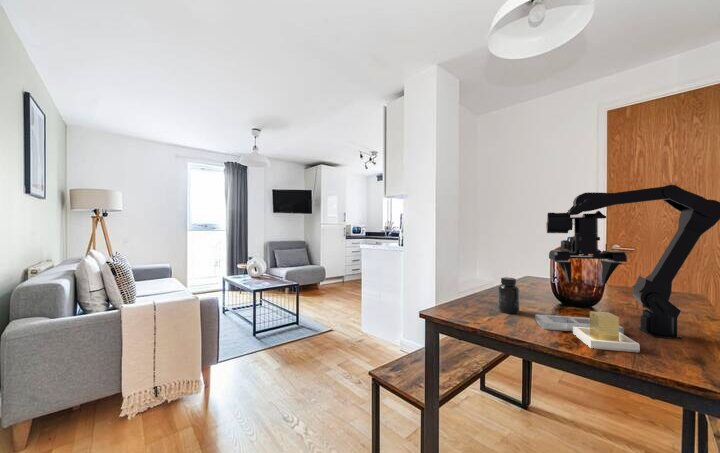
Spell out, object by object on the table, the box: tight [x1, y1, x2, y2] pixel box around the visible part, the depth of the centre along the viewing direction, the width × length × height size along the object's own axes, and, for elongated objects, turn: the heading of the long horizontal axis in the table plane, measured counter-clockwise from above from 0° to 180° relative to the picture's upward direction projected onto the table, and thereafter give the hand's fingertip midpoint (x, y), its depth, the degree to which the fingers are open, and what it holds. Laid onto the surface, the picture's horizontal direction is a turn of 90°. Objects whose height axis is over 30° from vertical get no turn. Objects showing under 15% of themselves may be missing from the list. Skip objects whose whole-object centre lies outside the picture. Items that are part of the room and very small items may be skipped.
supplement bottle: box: [497, 276, 520, 314], centre depth 105 cm, size 7×7×12 cm
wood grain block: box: [589, 310, 620, 342], centre depth 77 cm, size 4×4×7 cm
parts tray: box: [572, 327, 641, 354], centre depth 77 cm, size 10×10×2 cm
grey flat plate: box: [534, 314, 625, 335], centre depth 88 cm, size 20×8×2 cm, turn 75°
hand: (586, 283), depth 90 cm, fingers open, 9 cm apart
